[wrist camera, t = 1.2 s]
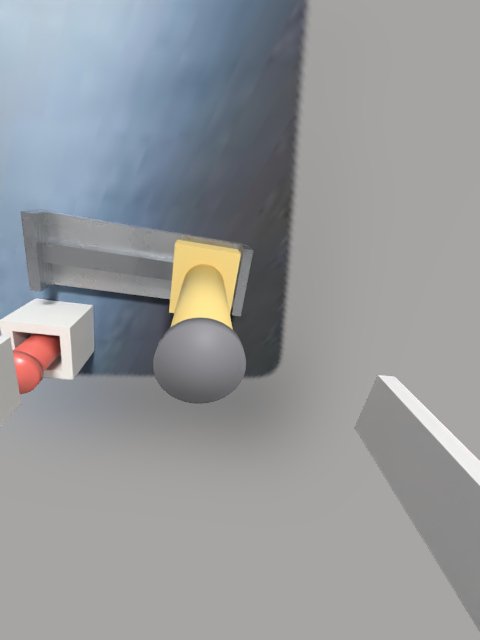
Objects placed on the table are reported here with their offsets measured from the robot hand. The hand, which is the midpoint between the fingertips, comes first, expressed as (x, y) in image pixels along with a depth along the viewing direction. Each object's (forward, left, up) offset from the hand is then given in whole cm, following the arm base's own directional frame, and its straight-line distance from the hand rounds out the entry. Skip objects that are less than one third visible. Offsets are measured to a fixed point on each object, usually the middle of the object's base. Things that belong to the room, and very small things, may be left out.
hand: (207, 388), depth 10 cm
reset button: (-13, -8, -14) cm, 21 cm away
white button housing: (-13, -8, -18) cm, 23 cm away
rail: (-5, 0, -18) cm, 19 cm away
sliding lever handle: (0, 0, -16) cm, 16 cm away
